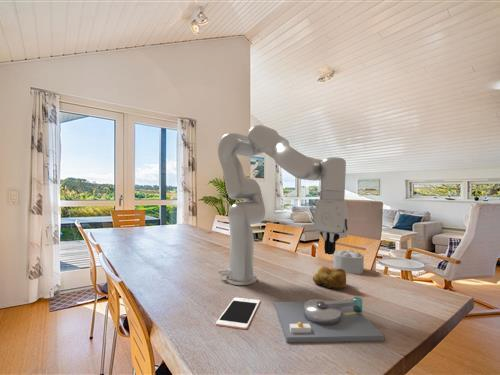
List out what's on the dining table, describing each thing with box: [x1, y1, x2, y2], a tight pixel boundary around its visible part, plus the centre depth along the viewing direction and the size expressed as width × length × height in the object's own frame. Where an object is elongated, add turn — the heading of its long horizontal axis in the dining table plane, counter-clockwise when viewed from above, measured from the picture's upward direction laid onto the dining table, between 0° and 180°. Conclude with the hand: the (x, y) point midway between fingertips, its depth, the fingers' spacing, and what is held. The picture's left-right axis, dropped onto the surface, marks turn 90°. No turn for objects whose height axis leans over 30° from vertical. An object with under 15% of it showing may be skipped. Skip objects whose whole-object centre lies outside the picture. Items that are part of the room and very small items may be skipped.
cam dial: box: [304, 296, 363, 325], centre depth 74 cm, size 17×10×4 cm, turn 101°
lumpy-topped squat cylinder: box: [332, 249, 365, 275], centre depth 122 cm, size 10×13×9 cm
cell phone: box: [215, 297, 261, 330], centre depth 78 cm, size 9×18×1 cm, turn 166°
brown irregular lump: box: [312, 266, 347, 290], centre depth 102 cm, size 13×10×8 cm
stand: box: [274, 301, 385, 343], centre depth 73 cm, size 24×20×3 cm
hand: (329, 253), depth 84 cm, fingers closed
